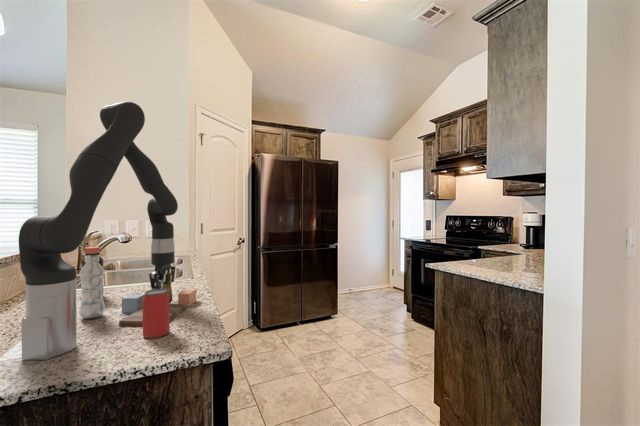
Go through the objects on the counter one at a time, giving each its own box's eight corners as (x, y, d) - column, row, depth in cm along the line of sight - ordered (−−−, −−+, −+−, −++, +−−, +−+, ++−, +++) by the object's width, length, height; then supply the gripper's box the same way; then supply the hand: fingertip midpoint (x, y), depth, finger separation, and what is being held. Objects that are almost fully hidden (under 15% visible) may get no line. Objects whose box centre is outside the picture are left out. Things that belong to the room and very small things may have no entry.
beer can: (150, 341, 78) (150, 296, 78) (137, 335, 82) (137, 292, 82) (174, 332, 84) (174, 290, 84) (161, 327, 87) (161, 287, 87)
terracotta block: (189, 306, 108) (189, 293, 108) (178, 306, 108) (178, 293, 108) (196, 301, 114) (196, 289, 114) (185, 301, 114) (185, 289, 114)
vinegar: (106, 296, 119) (106, 247, 119) (86, 301, 113) (85, 249, 113) (98, 294, 123) (98, 246, 123) (78, 298, 117) (78, 247, 117)
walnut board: (162, 325, 89) (162, 320, 89) (119, 325, 89) (119, 320, 89) (186, 308, 105) (186, 304, 105) (150, 308, 105) (150, 304, 105)
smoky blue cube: (136, 313, 100) (136, 298, 100) (121, 313, 100) (121, 298, 100) (145, 308, 105) (145, 294, 105) (131, 308, 105) (131, 294, 105)
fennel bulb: (151, 306, 107) (151, 273, 107) (161, 302, 112) (161, 270, 112) (165, 307, 106) (165, 274, 106) (174, 303, 111) (174, 271, 110)
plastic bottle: (91, 321, 92) (91, 257, 92) (73, 320, 93) (73, 256, 93) (110, 314, 98) (109, 254, 98) (93, 313, 100) (93, 254, 100)
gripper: (162, 253, 101) (162, 303, 102) (182, 248, 116) (182, 291, 116) (140, 253, 102) (141, 303, 102) (163, 248, 116) (163, 291, 116)
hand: (163, 296), depth 109 cm, fingers closed on fennel bulb, 5 cm apart
